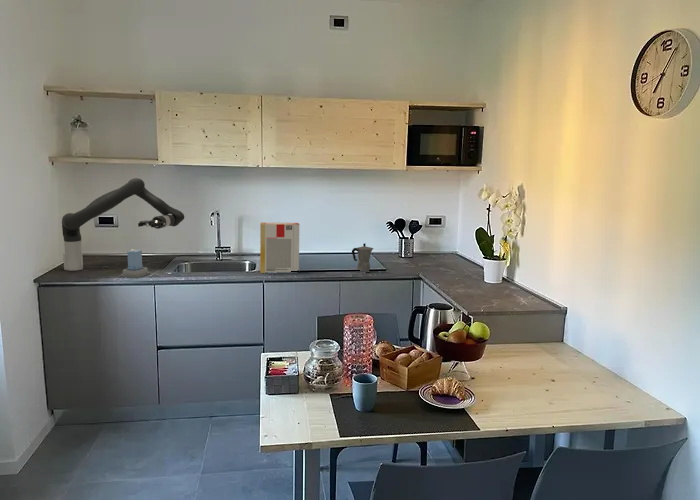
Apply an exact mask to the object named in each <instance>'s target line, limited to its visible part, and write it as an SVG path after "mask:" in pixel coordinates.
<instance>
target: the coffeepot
mask: <svg viewBox="0 0 700 500" xmlns="http://www.w3.org/2000/svg"><path fill="white" fill-rule="evenodd" d="M366 245H367V244H366V242H365V243H363V245H362V246H359V247H353V248H352V250H351V254H352V259H353V260H354V262H357V265H356V270H360V271H369V270H371V265H370V263H371V262H370V259H371V255H372V251H373V250H374V247H370V246H366ZM355 252H357V258H356V254H355Z"/></svg>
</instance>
